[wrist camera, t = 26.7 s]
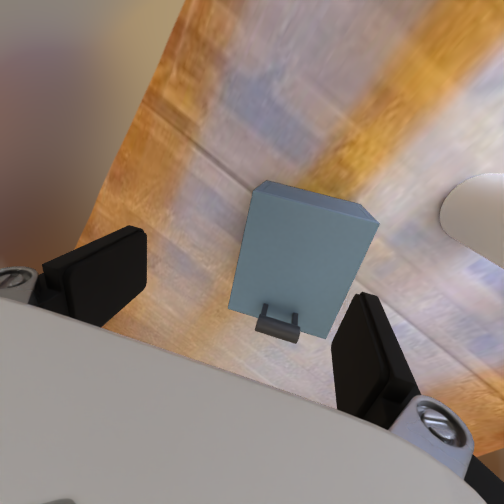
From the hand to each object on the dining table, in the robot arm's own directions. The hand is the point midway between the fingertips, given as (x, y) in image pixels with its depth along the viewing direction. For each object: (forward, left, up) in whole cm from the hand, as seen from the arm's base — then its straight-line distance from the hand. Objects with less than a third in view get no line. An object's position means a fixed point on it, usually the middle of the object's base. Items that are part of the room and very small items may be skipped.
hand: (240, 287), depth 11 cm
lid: (+8, +4, -18) cm, 20 cm away
